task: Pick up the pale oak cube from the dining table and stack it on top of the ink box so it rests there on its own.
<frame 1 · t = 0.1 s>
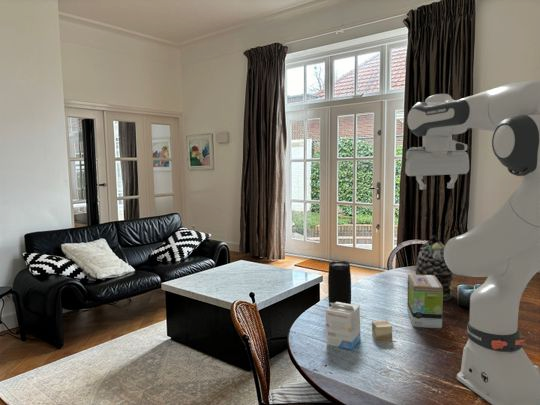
hand: (436, 189, 133), 48 cm above the table, tool pointing down, fingers open, 8 cm apart
pine cone: (434, 294, 172), on the table
ink box: (343, 342, 131), on the table
oak cube: (381, 338, 133), on the table
tea box: (423, 320, 147), on the table
portable speaker: (340, 313, 155), on the table
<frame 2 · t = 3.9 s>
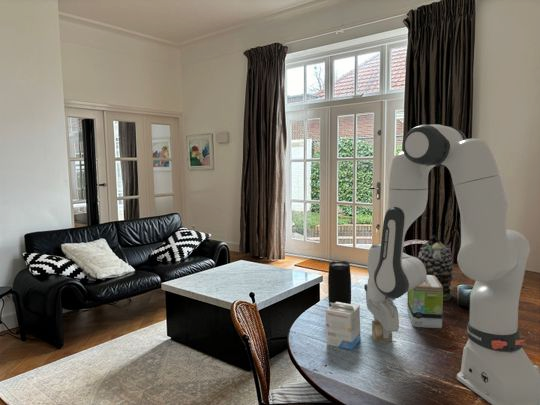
hand: (381, 333, 133), 2 cm above the table, tool pointing down, fingers closed on oak cube, 5 cm apart
oak cube: (381, 337, 133), on the table, touching gripper
everything else where it was.
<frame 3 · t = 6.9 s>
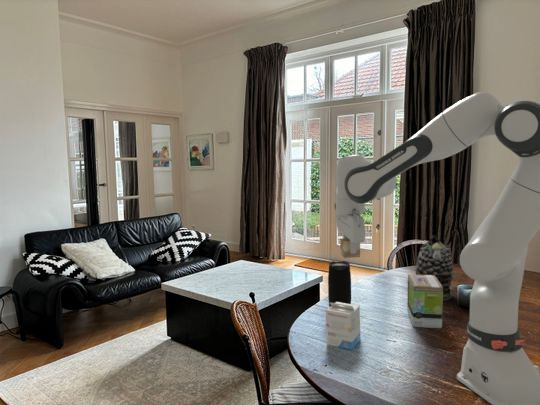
hand: (350, 250, 128), 30 cm above the table, tool pointing down, fingers closed on oak cube, 5 cm apart
oak cube: (350, 255, 128), point 28 cm above the table, touching gripper
everything else where it was.
when the fingers open (16 cm above the table, at t = 10.1 s): oak cube drops 1 cm, resting on ink box.
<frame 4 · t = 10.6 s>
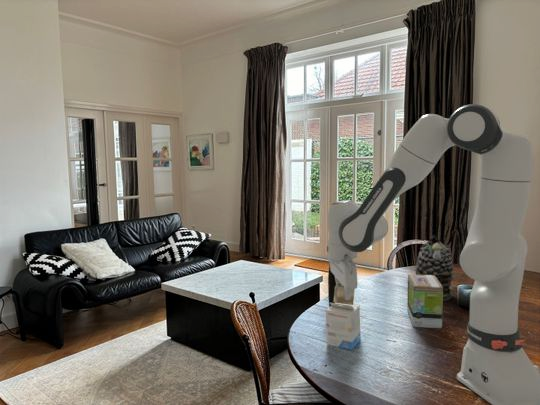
hand: (343, 293, 129), 16 cm above the table, tool pointing down, fingers open, 8 cm apart
ink box: (343, 342, 131), on the table, touching oak cube
oak cube: (343, 303, 129), point 13 cm above the table, tilted 19°, touching ink box
everything else where it was.
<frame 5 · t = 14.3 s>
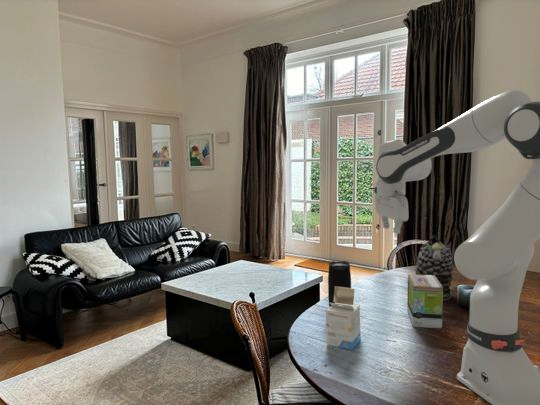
hand: (391, 230, 137), 34 cm above the table, tool pointing down, fingers open, 8 cm apart
nothing on the table moved.
at the end: oak cube inside the target area (0.1 cm from its centre), point 13.0 cm above the table; oak cube touching ink box; the gripper is holding nothing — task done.
